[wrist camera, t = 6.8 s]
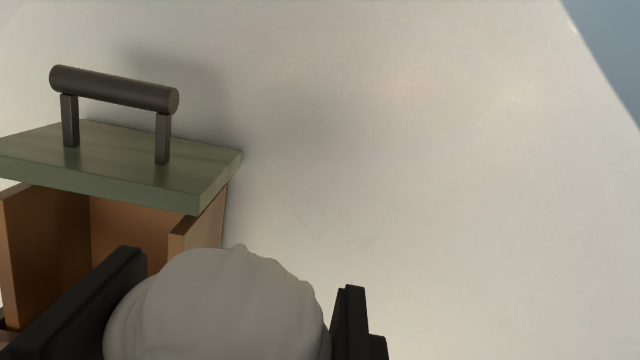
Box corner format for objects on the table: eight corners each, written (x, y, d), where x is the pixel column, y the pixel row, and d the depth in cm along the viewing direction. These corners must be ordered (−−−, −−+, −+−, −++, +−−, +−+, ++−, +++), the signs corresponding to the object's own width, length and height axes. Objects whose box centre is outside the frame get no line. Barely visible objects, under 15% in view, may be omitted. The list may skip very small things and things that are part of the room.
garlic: (374, 282, 11) (399, 463, 6) (284, 384, 13) (250, 588, 8) (205, 179, 10) (83, 297, 5) (132, 303, 12) (-9, 478, 7)
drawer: (72, 52, 23) (-56, 54, 15) (249, 88, 23) (206, 107, 16) (83, 281, 29) (-4, 361, 22) (223, 309, 29) (183, 397, 22)
